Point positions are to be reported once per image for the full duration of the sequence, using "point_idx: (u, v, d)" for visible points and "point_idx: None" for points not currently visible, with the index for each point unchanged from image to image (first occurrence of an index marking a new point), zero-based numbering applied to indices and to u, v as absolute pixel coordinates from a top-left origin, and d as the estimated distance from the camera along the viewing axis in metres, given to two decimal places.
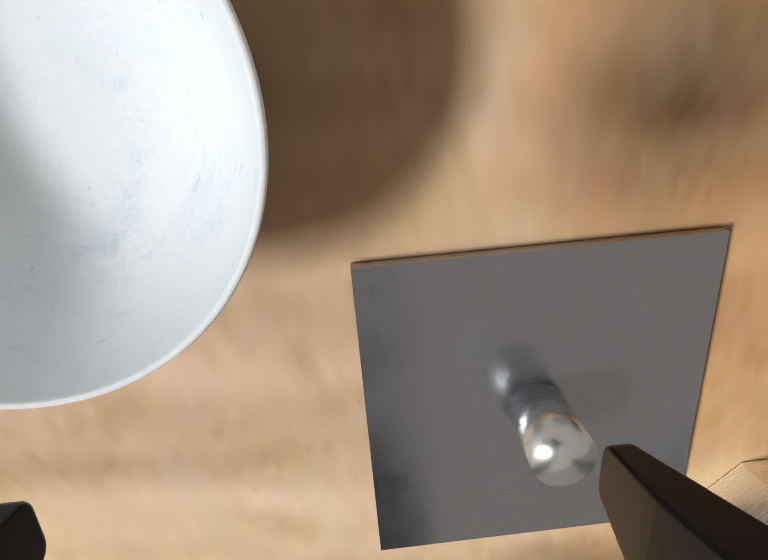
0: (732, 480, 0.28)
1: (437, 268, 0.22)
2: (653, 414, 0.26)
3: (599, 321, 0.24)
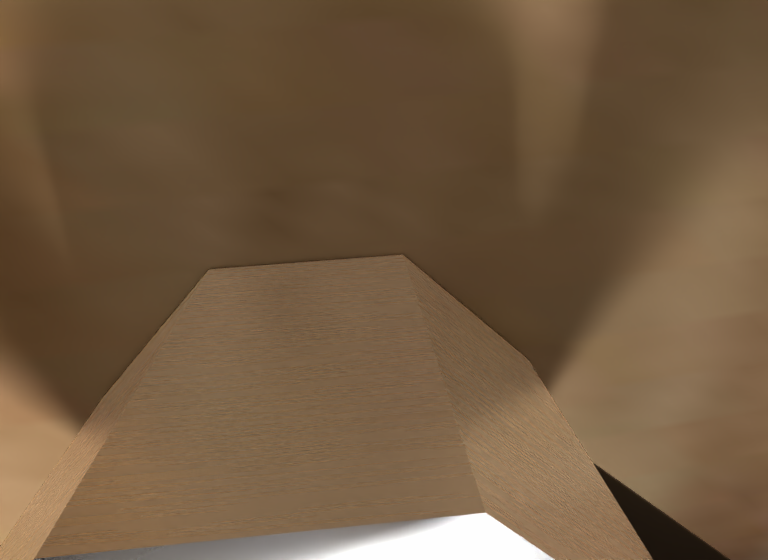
0: None
1: None
2: None
3: None
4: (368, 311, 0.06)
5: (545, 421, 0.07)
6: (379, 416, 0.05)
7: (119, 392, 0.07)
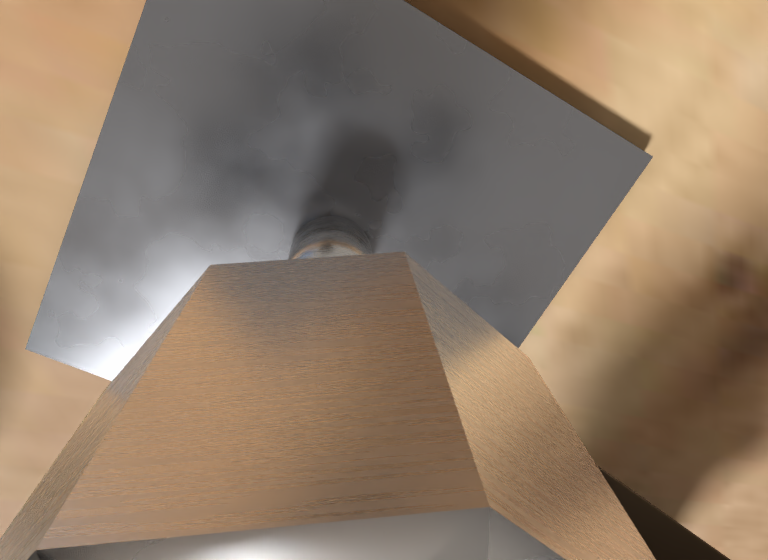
0: None
1: (65, 269, 0.18)
2: (446, 114, 0.17)
3: (244, 122, 0.17)
4: (370, 307, 0.06)
5: (547, 418, 0.07)
6: (382, 411, 0.05)
7: (119, 387, 0.07)
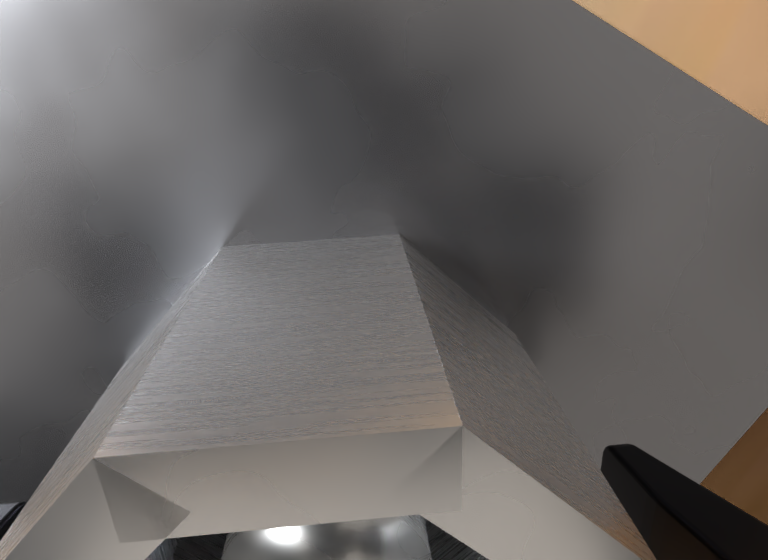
0: None
1: None
2: None
3: (573, 283, 0.10)
4: (367, 280, 0.07)
5: (525, 380, 0.07)
6: (376, 359, 0.05)
7: (143, 352, 0.07)
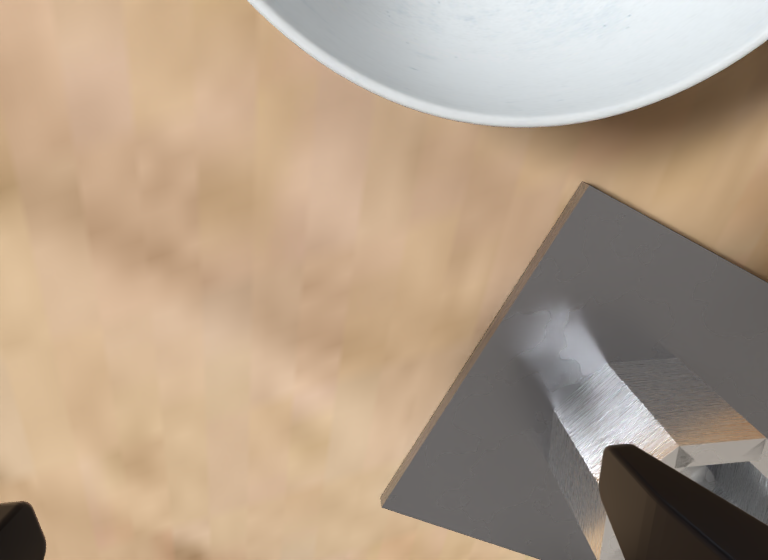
0: None
1: (660, 236, 0.20)
2: None
3: (742, 374, 0.22)
4: (689, 384, 0.20)
5: None
6: (724, 418, 0.18)
7: (605, 409, 0.20)
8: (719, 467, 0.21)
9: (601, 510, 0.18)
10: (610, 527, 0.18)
